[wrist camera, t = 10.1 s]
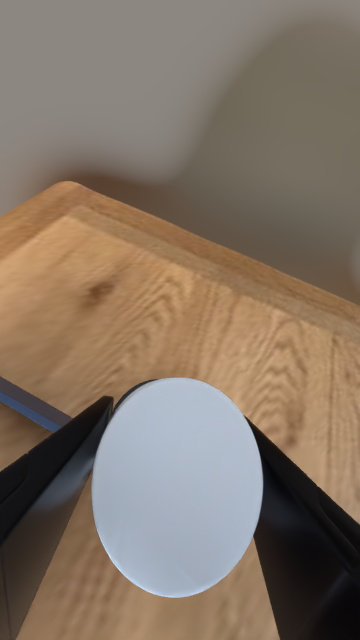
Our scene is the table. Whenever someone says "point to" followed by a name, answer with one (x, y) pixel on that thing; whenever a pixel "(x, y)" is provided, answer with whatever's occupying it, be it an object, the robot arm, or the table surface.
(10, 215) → the table surface
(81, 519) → the table surface
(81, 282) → the table surface
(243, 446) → the pill bottle
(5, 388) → the open box
